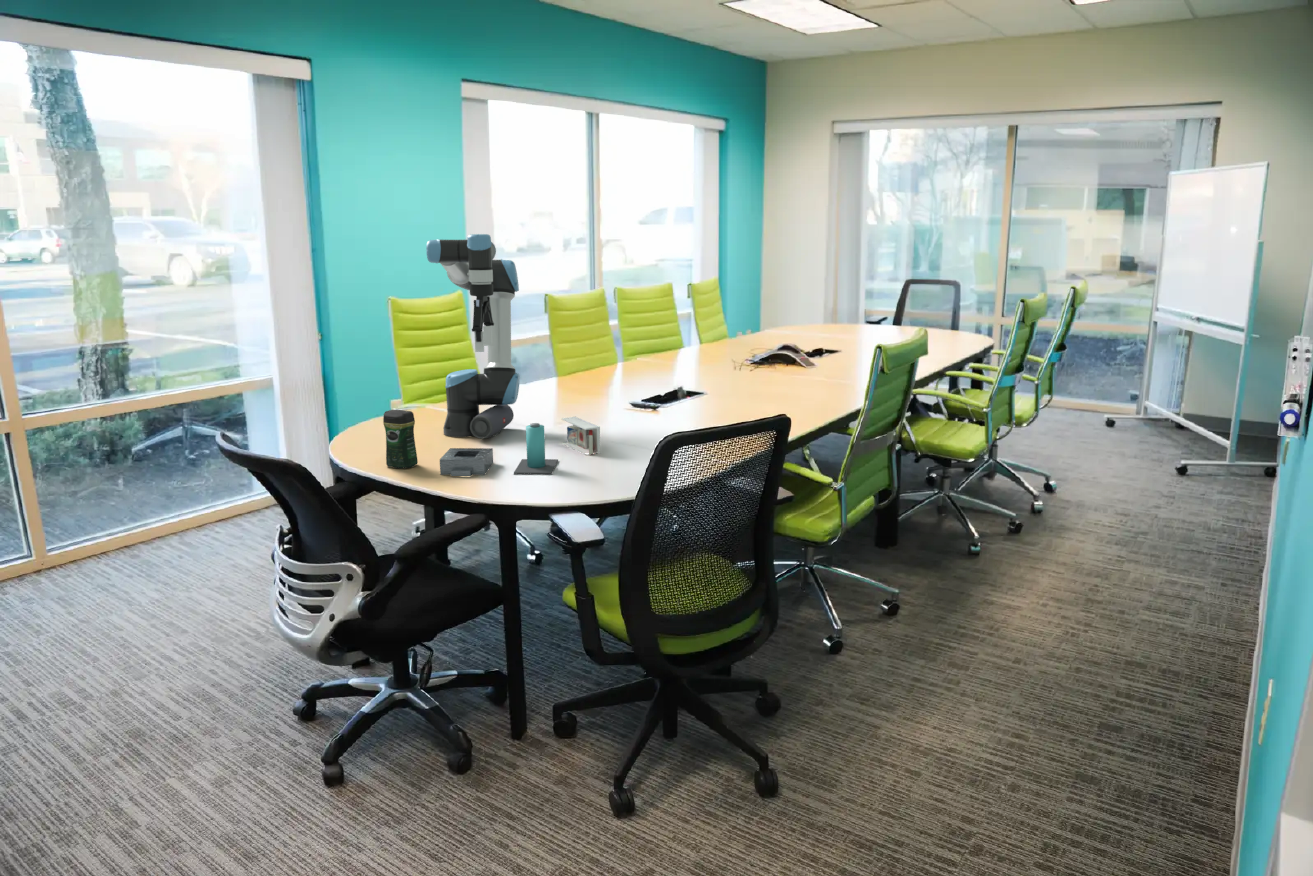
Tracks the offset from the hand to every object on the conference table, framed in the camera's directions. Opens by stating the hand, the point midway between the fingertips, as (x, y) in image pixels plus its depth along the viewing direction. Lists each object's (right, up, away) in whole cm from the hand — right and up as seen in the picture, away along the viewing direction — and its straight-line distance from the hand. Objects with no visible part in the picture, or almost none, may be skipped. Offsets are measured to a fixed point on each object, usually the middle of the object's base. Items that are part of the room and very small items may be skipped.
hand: (484, 348), depth 303 cm
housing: (-4, -39, -6) cm, 40 cm away
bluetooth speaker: (-4, -28, +39) cm, 48 cm away
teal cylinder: (+18, -38, -4) cm, 42 cm away
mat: (+18, -39, -4) cm, 43 cm away
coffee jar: (-26, -39, -2) cm, 47 cm away
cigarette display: (+30, -33, +19) cm, 49 cm away
